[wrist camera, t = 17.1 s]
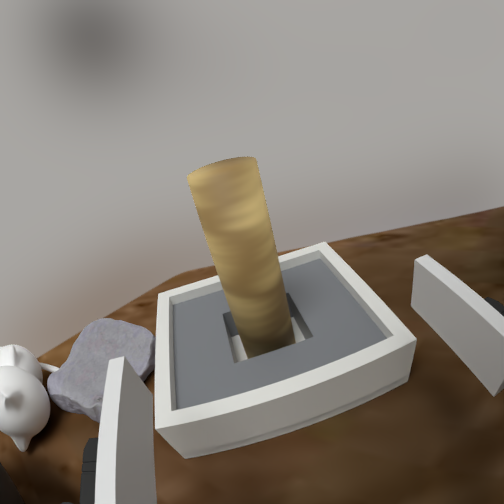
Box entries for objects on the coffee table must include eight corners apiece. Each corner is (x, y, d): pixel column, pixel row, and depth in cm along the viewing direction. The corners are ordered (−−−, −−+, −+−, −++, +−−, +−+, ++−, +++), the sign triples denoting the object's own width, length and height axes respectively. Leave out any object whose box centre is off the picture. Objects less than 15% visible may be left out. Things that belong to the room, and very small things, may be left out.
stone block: (175, 354, 32) (105, 334, 35) (165, 324, 30) (91, 306, 32) (130, 445, 23) (56, 408, 25) (109, 423, 20) (33, 384, 22)
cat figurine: (-16, 324, 24) (-33, 388, 15) (65, 330, 30) (77, 394, 21) (-6, 385, 25) (-9, 454, 16) (68, 388, 32) (85, 457, 22)
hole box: (329, 280, 35) (324, 241, 32) (407, 381, 21) (416, 339, 18) (175, 329, 33) (158, 293, 31) (185, 458, 19) (155, 428, 17)
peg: (287, 325, 28) (248, 153, 21) (303, 358, 25) (264, 164, 17) (242, 340, 28) (186, 171, 20) (252, 375, 24) (187, 186, 17)
